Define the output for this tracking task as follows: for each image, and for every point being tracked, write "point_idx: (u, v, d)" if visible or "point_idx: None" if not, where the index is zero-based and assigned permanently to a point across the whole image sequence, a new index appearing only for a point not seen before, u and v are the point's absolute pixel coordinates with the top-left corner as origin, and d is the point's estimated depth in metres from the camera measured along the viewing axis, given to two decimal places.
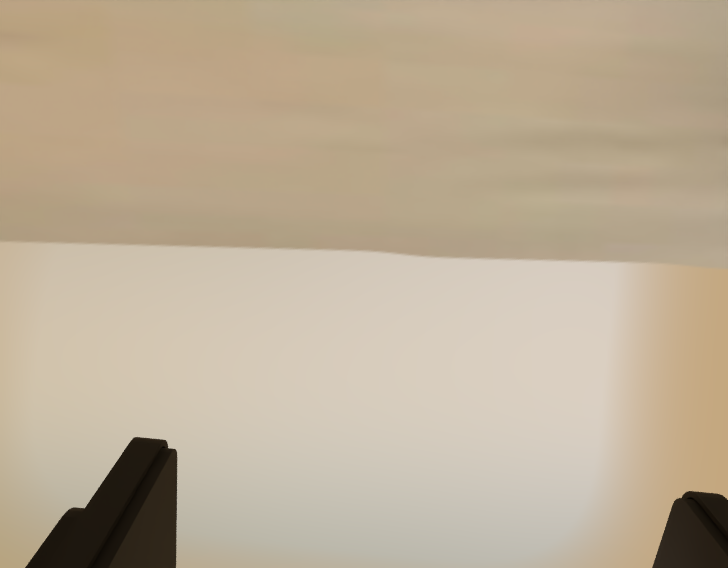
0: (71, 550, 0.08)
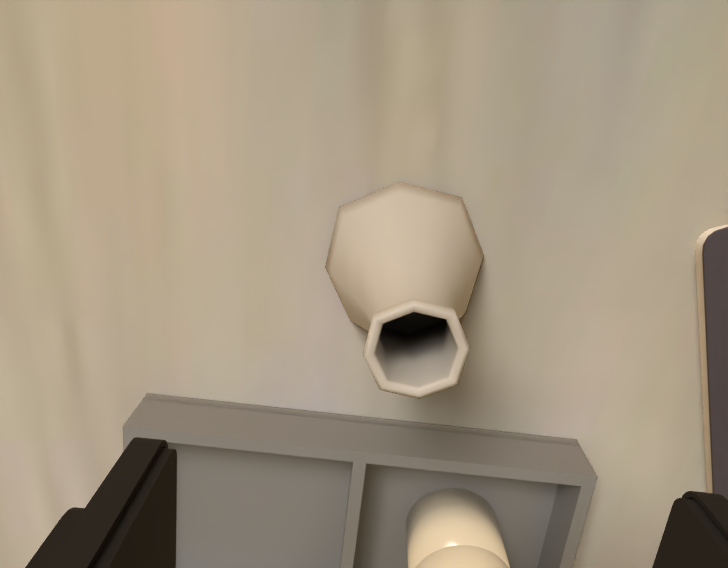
0: (71, 550, 0.08)
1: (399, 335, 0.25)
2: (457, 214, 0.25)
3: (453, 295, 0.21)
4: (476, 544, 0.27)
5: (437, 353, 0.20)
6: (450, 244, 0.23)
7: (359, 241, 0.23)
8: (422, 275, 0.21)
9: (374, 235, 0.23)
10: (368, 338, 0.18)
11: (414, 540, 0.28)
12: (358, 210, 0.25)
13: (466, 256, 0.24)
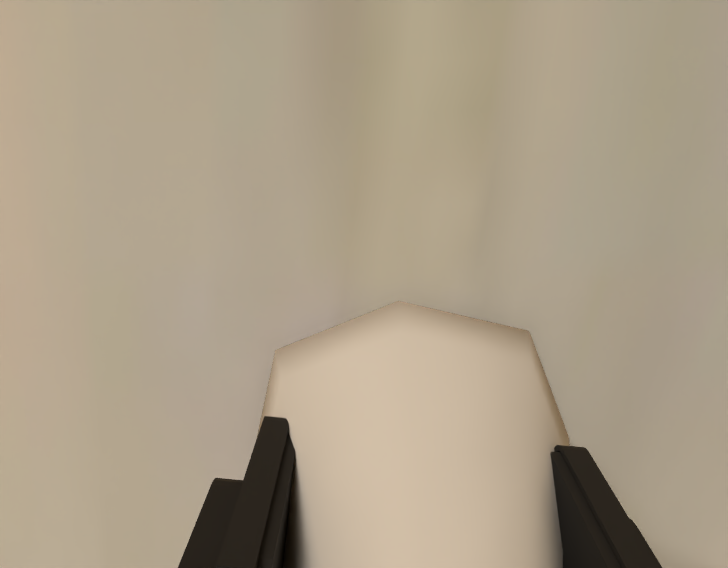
0: (247, 508, 0.09)
1: None
2: (529, 382, 0.11)
3: None
4: None
5: None
6: (529, 490, 0.09)
7: (309, 469, 0.10)
8: None
9: (343, 455, 0.10)
10: None
11: None
12: (312, 368, 0.12)
13: (552, 480, 0.11)
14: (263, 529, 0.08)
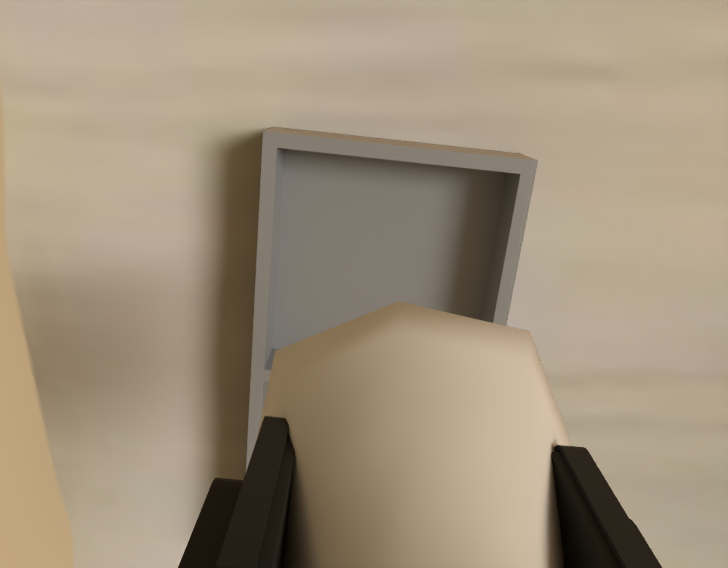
0: (247, 508, 0.09)
1: None
2: (530, 383, 0.11)
3: None
4: None
5: None
6: (530, 491, 0.09)
7: (309, 470, 0.10)
8: None
9: (343, 456, 0.10)
10: None
11: None
12: (312, 368, 0.12)
13: (553, 482, 0.11)
14: (263, 529, 0.08)
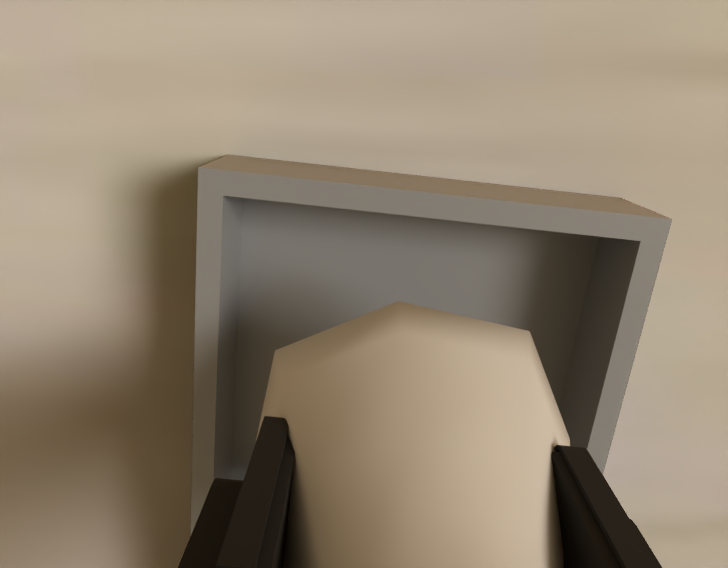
0: (247, 508, 0.09)
1: None
2: (529, 383, 0.11)
3: None
4: None
5: None
6: (530, 491, 0.09)
7: (308, 469, 0.10)
8: None
9: (343, 456, 0.10)
10: None
11: None
12: (312, 368, 0.12)
13: (553, 482, 0.11)
14: (263, 530, 0.08)
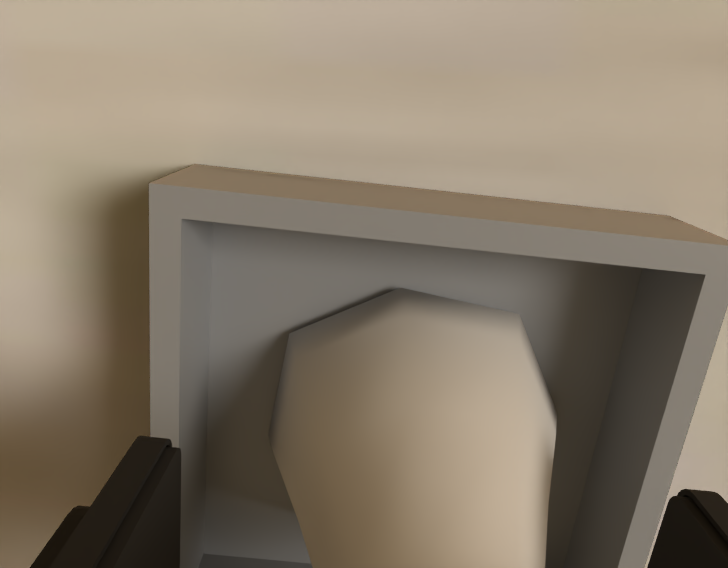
0: (77, 548, 0.08)
1: None
2: (518, 358, 0.13)
3: None
4: None
5: None
6: (517, 449, 0.11)
7: (323, 433, 0.11)
8: None
9: (353, 421, 0.11)
10: None
11: None
12: (324, 347, 0.13)
13: (539, 445, 0.12)
14: None
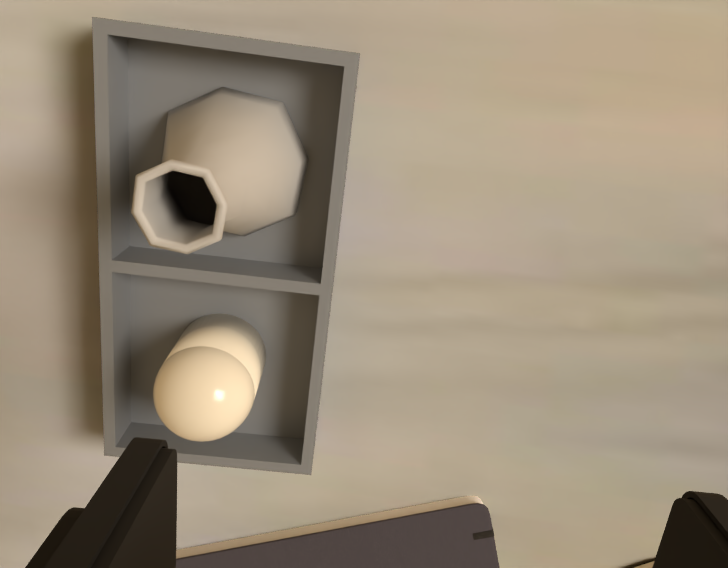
0: (71, 550, 0.08)
1: None
2: (271, 114, 0.27)
3: (245, 176, 0.23)
4: None
5: None
6: (253, 135, 0.25)
7: (172, 135, 0.25)
8: (209, 153, 0.22)
9: (185, 128, 0.25)
10: (133, 195, 0.20)
11: (233, 338, 0.30)
12: (181, 111, 0.27)
13: (278, 151, 0.26)
14: None
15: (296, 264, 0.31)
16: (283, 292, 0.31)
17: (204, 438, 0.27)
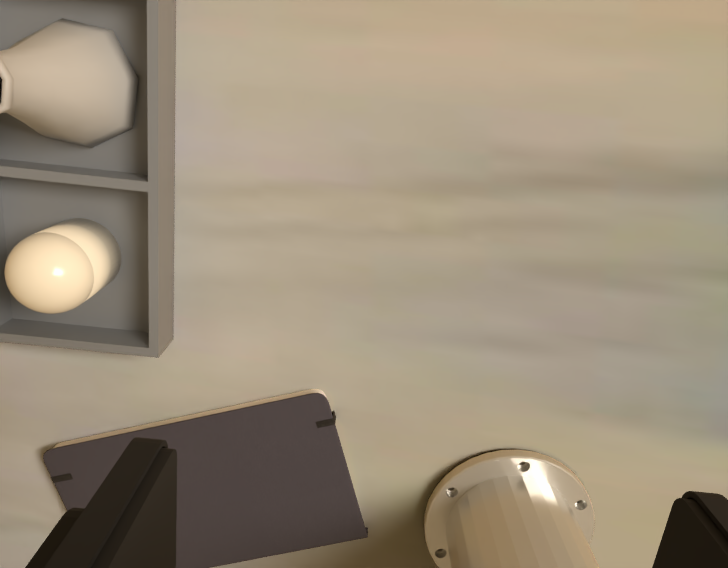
0: (71, 550, 0.08)
1: (52, 128, 0.32)
2: (96, 36, 0.32)
3: (53, 74, 0.29)
4: (94, 281, 0.35)
5: (20, 104, 0.28)
6: (69, 47, 0.31)
7: None
8: (19, 53, 0.28)
9: (18, 45, 0.31)
10: None
11: (79, 231, 0.35)
12: (26, 37, 0.33)
13: (99, 65, 0.32)
14: None
15: (138, 173, 0.36)
16: (130, 198, 0.37)
17: (44, 306, 0.33)
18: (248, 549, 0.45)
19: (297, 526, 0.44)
